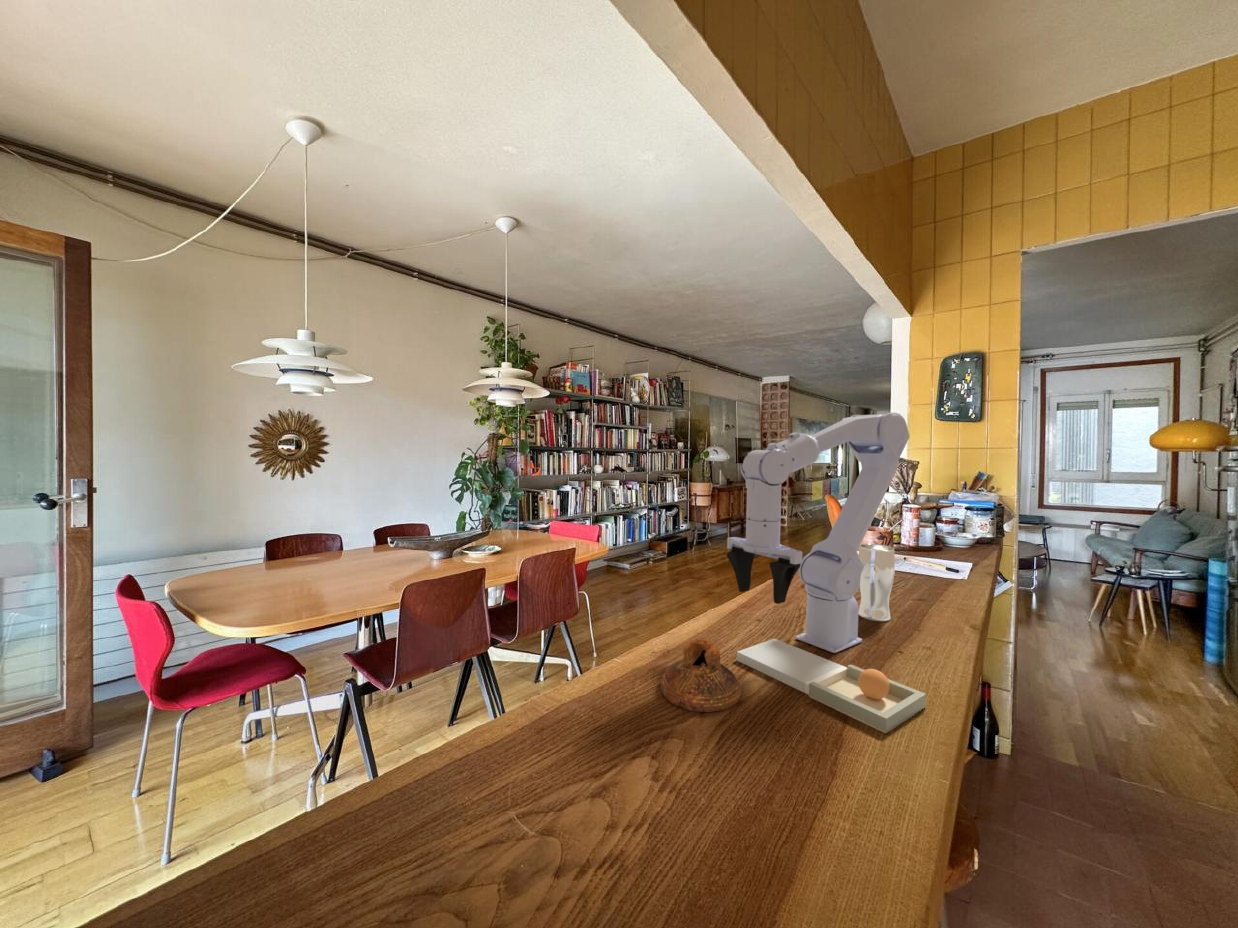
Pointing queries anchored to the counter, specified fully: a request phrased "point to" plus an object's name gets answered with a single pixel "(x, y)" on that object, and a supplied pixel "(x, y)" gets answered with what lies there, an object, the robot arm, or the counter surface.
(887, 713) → the tray
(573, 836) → the counter surface
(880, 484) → the robot arm
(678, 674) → the bell
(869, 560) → the beer glass
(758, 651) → the plate
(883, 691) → the ball
